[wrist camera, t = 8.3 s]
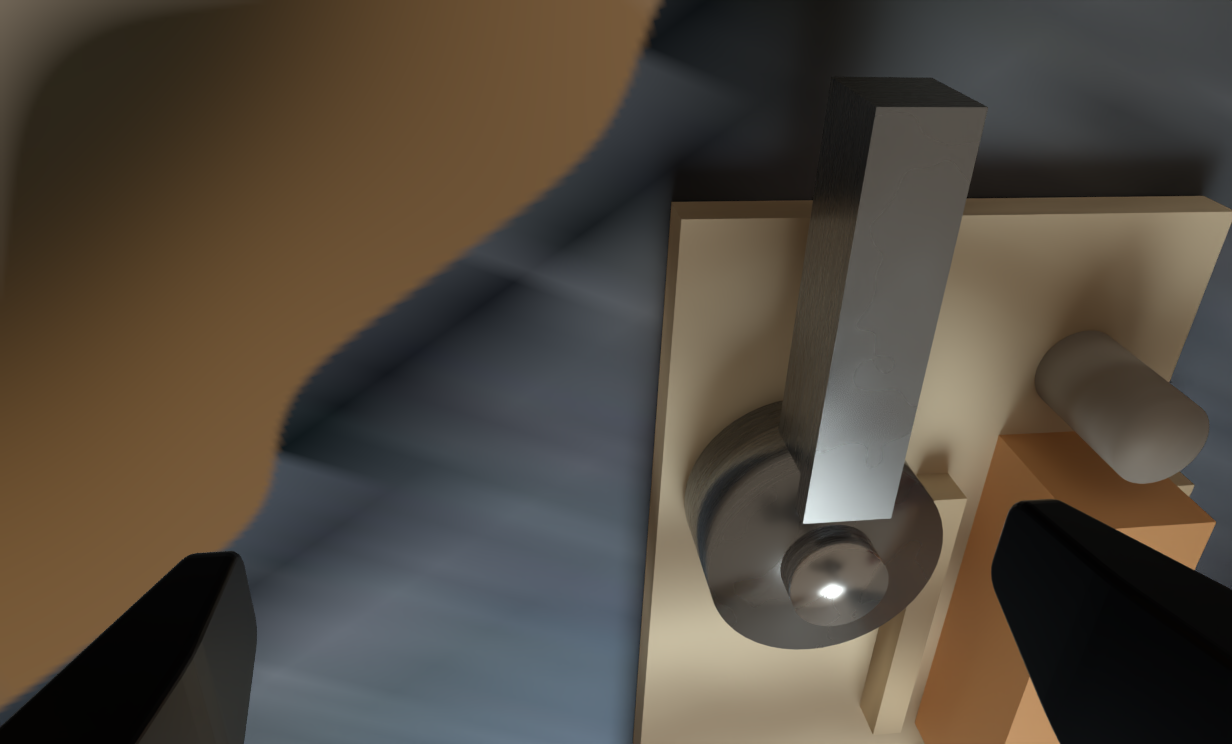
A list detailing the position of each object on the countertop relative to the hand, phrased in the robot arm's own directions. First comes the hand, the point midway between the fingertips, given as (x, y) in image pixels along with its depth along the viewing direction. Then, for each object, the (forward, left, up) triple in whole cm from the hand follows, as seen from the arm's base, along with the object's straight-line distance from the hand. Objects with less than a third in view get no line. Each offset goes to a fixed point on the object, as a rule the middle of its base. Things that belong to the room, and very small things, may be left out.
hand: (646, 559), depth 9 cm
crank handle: (-4, -6, -10) cm, 12 cm away
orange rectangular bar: (-11, -12, -10) cm, 19 cm away
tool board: (-10, -9, -11) cm, 17 cm away
